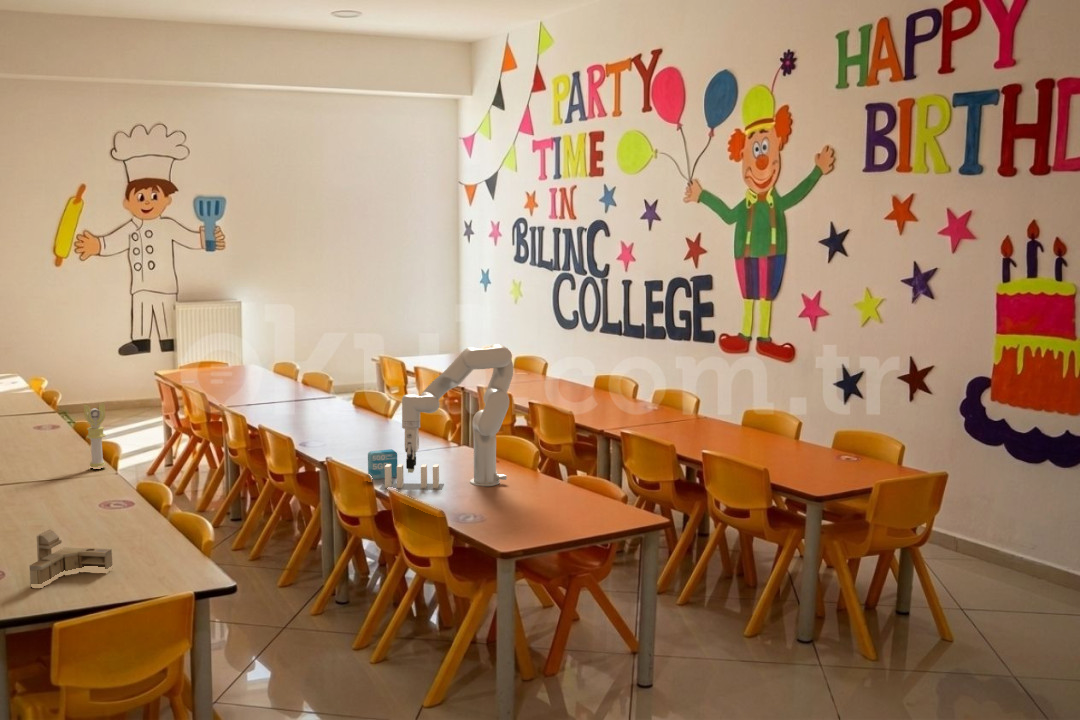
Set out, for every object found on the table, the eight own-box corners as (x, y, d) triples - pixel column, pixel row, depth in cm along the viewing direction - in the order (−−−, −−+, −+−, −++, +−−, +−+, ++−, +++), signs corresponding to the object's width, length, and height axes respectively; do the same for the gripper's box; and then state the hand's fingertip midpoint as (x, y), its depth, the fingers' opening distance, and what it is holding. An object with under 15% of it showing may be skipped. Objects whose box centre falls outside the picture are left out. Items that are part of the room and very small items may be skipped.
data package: (370, 480, 436) (370, 453, 434) (368, 478, 440) (367, 451, 438) (397, 477, 441) (397, 450, 439) (394, 475, 445) (394, 448, 443)
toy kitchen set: (80, 591, 303) (77, 542, 301) (28, 589, 305) (25, 540, 303) (113, 570, 322) (110, 524, 320) (63, 568, 323) (61, 522, 322)
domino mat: (444, 484, 429) (444, 483, 429) (441, 490, 419) (441, 489, 419) (383, 484, 429) (383, 483, 429) (379, 490, 419) (379, 489, 419)
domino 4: (427, 485, 426) (426, 464, 425) (425, 488, 421) (425, 467, 420) (422, 485, 426) (422, 464, 425) (420, 488, 421) (420, 466, 420)
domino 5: (439, 485, 426) (438, 464, 425) (437, 488, 421) (437, 467, 420) (434, 485, 426) (434, 464, 425) (432, 488, 421) (432, 467, 420)
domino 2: (403, 484, 426) (403, 464, 425) (401, 487, 422) (401, 466, 420) (398, 484, 426) (398, 464, 425) (397, 487, 422) (396, 466, 420)
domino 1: (391, 484, 427) (391, 463, 425) (389, 487, 422) (389, 466, 420) (387, 484, 427) (386, 463, 425) (385, 487, 422) (384, 466, 420)
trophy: (88, 471, 449) (85, 405, 445) (86, 468, 456) (83, 402, 452) (108, 469, 453) (105, 403, 449) (106, 466, 460) (103, 401, 456)
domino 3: (414, 469, 425) (414, 448, 424) (412, 472, 420) (412, 451, 419) (409, 469, 425) (409, 448, 424) (407, 472, 421) (407, 451, 419)
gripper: (417, 428, 412) (417, 472, 414) (422, 420, 429) (422, 462, 431) (399, 428, 412) (399, 471, 414) (405, 420, 429) (405, 462, 431)
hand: (411, 466), depth 423 cm, fingers closed on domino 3, 4 cm apart
